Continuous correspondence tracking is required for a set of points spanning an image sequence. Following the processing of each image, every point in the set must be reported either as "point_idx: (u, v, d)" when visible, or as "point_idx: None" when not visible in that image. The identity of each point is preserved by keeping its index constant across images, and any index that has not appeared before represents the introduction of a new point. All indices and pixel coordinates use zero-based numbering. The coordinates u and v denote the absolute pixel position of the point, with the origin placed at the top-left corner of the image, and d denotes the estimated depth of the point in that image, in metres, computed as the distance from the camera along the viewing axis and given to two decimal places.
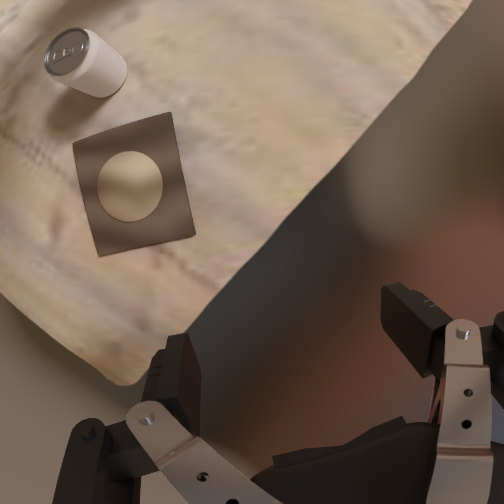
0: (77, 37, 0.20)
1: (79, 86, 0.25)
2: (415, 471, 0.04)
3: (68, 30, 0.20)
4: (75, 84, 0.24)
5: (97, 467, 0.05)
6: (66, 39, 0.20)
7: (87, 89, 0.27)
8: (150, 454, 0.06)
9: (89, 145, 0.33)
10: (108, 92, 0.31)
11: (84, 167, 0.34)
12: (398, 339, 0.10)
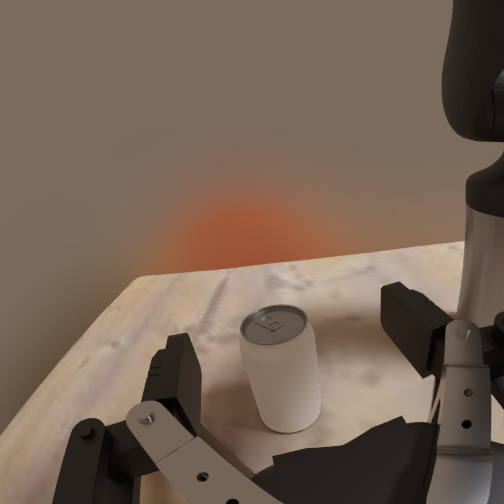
0: (295, 323, 0.24)
1: (250, 376, 0.25)
2: (415, 471, 0.04)
3: (298, 311, 0.26)
4: (247, 367, 0.24)
5: (97, 467, 0.05)
6: (287, 316, 0.26)
7: (255, 391, 0.25)
8: (150, 454, 0.06)
9: None
10: (270, 423, 0.26)
11: None
12: (398, 339, 0.10)
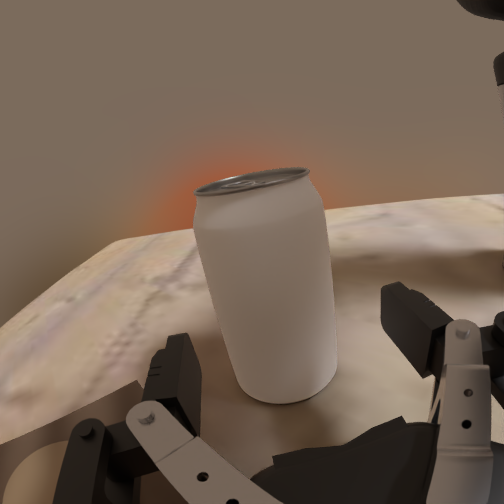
0: None
1: (209, 280, 0.14)
2: (415, 471, 0.04)
3: (293, 173, 0.16)
4: (204, 259, 0.14)
5: (97, 467, 0.05)
6: (275, 177, 0.15)
7: (220, 316, 0.15)
8: (150, 454, 0.06)
9: None
10: (250, 384, 0.16)
11: (93, 414, 0.15)
12: (398, 339, 0.10)
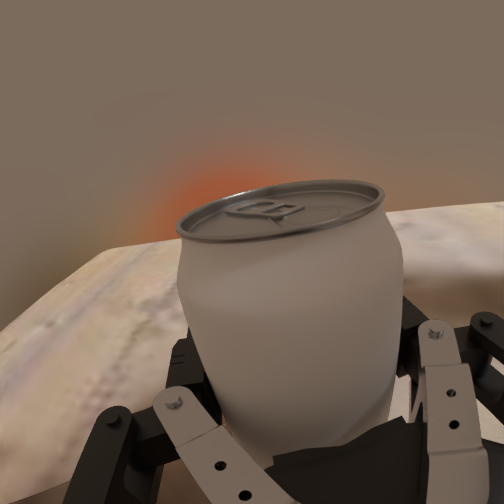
0: (346, 202, 0.08)
1: (208, 373, 0.08)
2: (407, 476, 0.04)
3: (342, 189, 0.09)
4: (197, 344, 0.08)
5: (119, 456, 0.06)
6: (317, 196, 0.09)
7: (226, 416, 0.09)
8: (173, 439, 0.06)
9: None
10: None
11: None
12: None
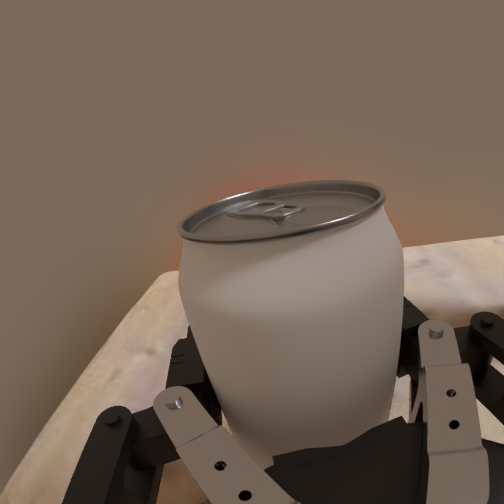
0: (347, 202, 0.08)
1: (209, 373, 0.08)
2: (407, 476, 0.04)
3: (343, 190, 0.09)
4: (199, 344, 0.08)
5: (119, 456, 0.06)
6: (318, 197, 0.09)
7: (227, 417, 0.09)
8: (173, 439, 0.06)
9: None
10: None
11: None
12: None
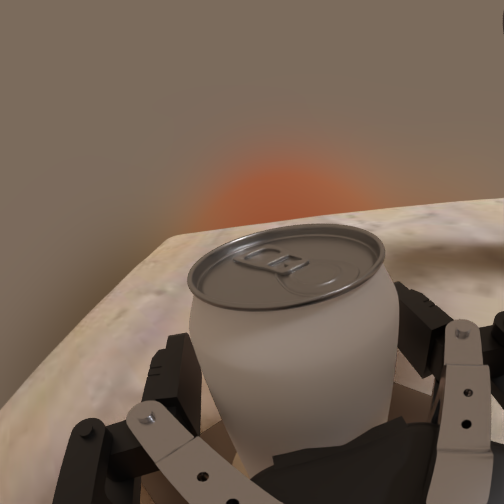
0: (348, 255, 0.08)
1: (218, 408, 0.09)
2: (415, 471, 0.04)
3: (345, 235, 0.10)
4: (209, 385, 0.08)
5: (97, 467, 0.05)
6: (320, 244, 0.10)
7: (234, 442, 0.09)
8: (151, 455, 0.06)
9: None
10: None
11: None
12: (398, 339, 0.10)
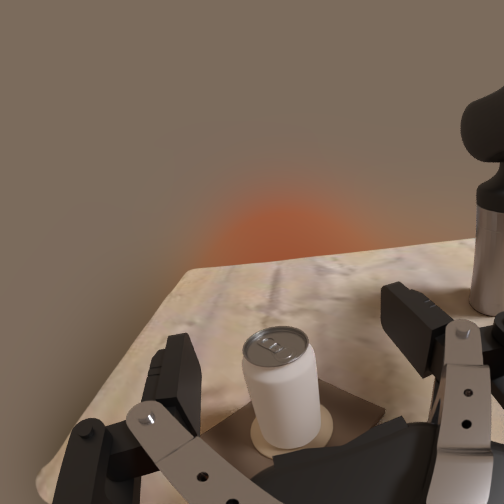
0: (297, 345, 0.24)
1: (251, 394, 0.25)
2: (415, 471, 0.04)
3: (299, 332, 0.26)
4: (249, 386, 0.24)
5: (97, 467, 0.05)
6: (289, 337, 0.26)
7: (256, 409, 0.25)
8: (151, 455, 0.06)
9: None
10: (270, 439, 0.26)
11: None
12: (398, 339, 0.10)
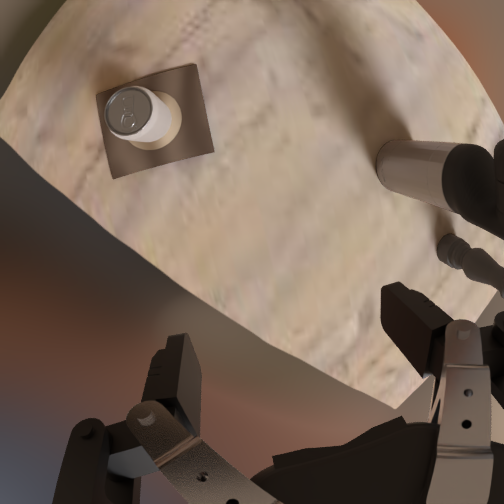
0: (140, 119, 0.29)
1: None
2: (415, 471, 0.04)
3: (152, 106, 0.28)
4: None
5: (97, 467, 0.05)
6: (142, 106, 0.28)
7: None
8: (151, 455, 0.06)
9: (191, 80, 0.38)
10: None
11: (171, 77, 0.38)
12: (398, 339, 0.10)
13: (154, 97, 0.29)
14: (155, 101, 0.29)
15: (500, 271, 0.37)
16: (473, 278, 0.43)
